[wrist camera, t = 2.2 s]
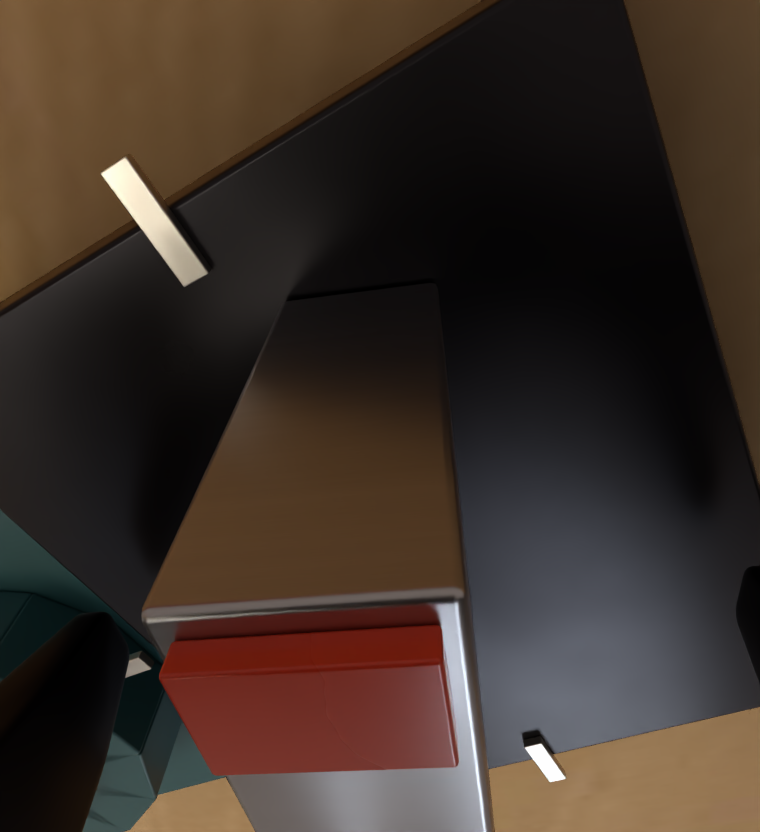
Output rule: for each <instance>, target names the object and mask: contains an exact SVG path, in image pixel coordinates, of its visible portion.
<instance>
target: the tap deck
mask: <svg viewBox="0 0 760 832" xmlns="http://www.w3.org/2000/svg"><path fill="white" fill-rule="evenodd" d="M100 174H101V176H102V177H103V178H104V180H105V181H106V182H107V184H108V185H109V186H110V188H111V189H112V190H113V192H114V193H115V194H116V196H117V197H118V199H119V200H120V201H121V203H122V204H123V205H124V207H125V208H126V209H127V211H128V212H129V213H130V215H131V216H132V217H133V220H132V221H130V222H128V223H127V224H125V225H124V226H122V227H120V228H119V229H117V230H116V231H114V232H112V233H111V234H109V235H108V236H106V237H104V238H103V239H101V240H100V241H98V242H96V243H95V244H93V245H92V246H90V247H88V248H87V249H85V250H84V251H82V252H80V253H79V254H77V255H76V256H74V257H73V258H71V259H69V260H68V261H66V262H65V263H63V264H61V265H60V266H58V267H57V268H55V269H53V270H52V271H50V272H49V273H47V274H45V275H44V276H42V277H41V278H39V279H37V280H36V281H34V282H33V283H31V284H29V285H28V286H26V287H25V288H23V289H21V290H20V291H18V292H17V293H15V294H14V295H12V296H10V297H9V298H7V299H6V300H4V301H2V302H1V303H0V510H1V511H2V512H3V513H4V514H5V515H7V516H8V517H9V518H10V519H11V520H12V521H13V522H14V523H16V524H17V525H18V526H19V527H20V528H21V529H22V530H23V531H25V532H26V533H27V534H28V535H29V536H30V537H31V538H32V539H34V540H35V541H36V542H37V543H38V544H39V545H40V546H41V547H43V548H44V549H45V550H46V551H47V552H48V553H49V554H50V555H51V556H53V557H54V558H55V559H56V560H57V561H58V562H59V563H60V564H62V565H63V566H64V567H65V568H66V569H67V570H68V571H69V572H71V573H72V574H73V575H74V576H75V577H76V578H77V579H78V580H80V581H81V582H82V583H83V584H84V585H85V586H86V587H87V588H88V589H90V590H91V591H92V592H93V593H94V594H95V595H96V596H97V597H99V598H100V599H101V600H102V601H103V602H104V603H105V604H106V605H108V606H109V607H110V608H111V609H112V610H113V611H114V612H115V613H117V614H118V615H119V616H120V617H121V618H122V619H123V620H124V621H126V622H127V623H128V624H129V625H130V626H131V627H132V628H133V629H134V630H136V631H137V632H138V633H139V634H140V635H141V636H142V637H143V638H145V639H146V640H147V641H148V642H149V643H150V644H151V645H152V646H154V647H155V645H154V643H153V642H152V640H151V638H150V636H149V634H148V632H147V630H146V629H145V627H144V625H143V623H142V607H143V605H144V603H145V601H146V599H147V596H148V594H149V592H150V590H151V588H152V586H153V583H154V581H155V579H156V577H157V575H158V573H159V570H160V568H161V566H162V564H163V562H164V560H165V557H166V555H167V553H168V551H169V549H170V547H171V545H172V542H173V540H174V538H175V536H176V534H177V532H178V529H179V527H180V525H181V523H182V521H183V519H184V516H185V514H186V512H187V510H188V508H189V506H190V503H191V501H192V499H193V497H194V495H195V493H196V490H197V488H198V486H199V484H200V482H201V480H202V477H203V475H204V473H205V471H206V469H207V467H208V464H209V462H210V460H211V458H212V456H213V454H214V451H215V449H216V447H217V445H218V443H219V441H220V438H221V436H222V434H223V432H224V430H225V428H226V425H227V423H228V421H229V419H230V417H231V415H232V412H233V410H234V408H235V406H236V404H237V402H238V399H239V397H240V395H241V393H242V391H243V389H244V386H245V384H246V382H247V380H248V378H249V376H250V373H251V371H252V369H253V367H254V365H255V363H256V360H257V358H258V356H259V354H260V352H261V350H262V347H263V345H264V343H265V341H266V339H267V337H268V334H269V332H270V330H271V328H272V326H273V324H274V321H275V319H276V317H277V315H278V313H279V311H280V308H281V306H282V304H283V303H285V302H286V301H293V300H300V299H308V298H316V297H324V296H331V295H339V294H347V293H355V292H363V291H370V290H378V289H386V288H394V287H401V286H409V285H417V284H425V283H434V284H436V286H437V288H438V295H439V305H440V314H441V324H442V333H443V343H444V352H445V362H446V371H447V381H448V390H449V400H450V409H451V418H452V428H453V437H454V447H455V456H456V466H457V475H458V485H459V494H460V504H461V513H462V523H463V532H464V542H465V551H466V560H467V570H468V579H469V589H470V598H471V608H472V617H473V627H474V636H475V646H476V655H477V665H478V674H479V684H480V693H481V702H482V712H483V721H484V731H485V741H486V750H487V760H488V769H492V768H496V767H500V766H505V765H509V764H513V763H518V762H522V761H526V760H531V759H533V760H534V762H535V763H536V764H537V766H538V767H539V768H540V770H541V771H542V772H543V774H544V775H545V776H546V778H547V779H548V781H549V782H553V781H557V780H562V779H566V774H565V770H564V769H563V768H562V766H561V765H560V763H559V762H558V761H557V759H556V758H555V756H554V755H553V754H557V753H561V752H566V751H570V750H574V749H579V748H583V747H587V746H592V745H596V744H600V743H605V742H609V741H613V740H618V739H622V738H626V737H631V736H635V735H639V734H644V733H648V732H652V731H657V730H661V729H666V728H670V727H674V726H679V725H683V724H687V723H692V722H696V721H700V720H705V719H709V718H713V717H718V716H722V715H726V714H731V713H735V712H739V711H744V710H748V709H752V708H757V707H760V684H759V681H758V679H757V676H756V673H755V670H754V668H753V665H752V662H751V660H750V657H749V654H748V651H747V649H746V646H745V643H744V641H743V638H742V635H741V632H740V630H739V627H738V624H737V620H736V603H737V599H738V595H739V591H740V586H741V582H742V578H743V574H744V572H745V570H746V569H747V568H748V567H751V566H760V485H759V481H758V478H757V474H756V470H755V467H754V463H753V460H752V456H751V453H750V449H749V445H748V442H747V438H746V435H745V431H744V427H743V424H742V420H741V417H740V413H739V410H738V406H737V402H736V399H735V395H734V392H733V388H732V384H731V381H730V377H729V374H728V370H727V367H726V363H725V359H724V356H723V352H722V349H721V345H720V341H719V338H718V334H717V331H716V327H715V324H714V320H713V316H712V313H711V309H710V306H709V302H708V298H707V295H706V291H705V288H704V284H703V281H702V277H701V273H700V270H699V266H698V263H697V259H696V256H695V252H694V248H693V245H692V241H691V238H690V234H689V230H688V227H687V223H686V220H685V216H684V213H683V209H682V205H681V202H680V198H679V195H678V191H677V187H676V184H675V180H674V177H673V173H672V170H671V166H670V162H669V159H668V155H667V152H666V148H665V144H664V141H663V137H662V134H661V130H660V127H659V123H658V119H657V116H656V112H655V109H654V105H653V101H652V98H651V94H650V91H649V87H648V84H647V80H646V76H645V73H644V69H643V66H642V62H641V59H640V55H639V51H638V48H637V44H636V41H635V37H634V33H633V30H632V26H631V23H630V19H629V16H628V12H627V8H626V5H625V1H624V0H482V1H481V2H479V3H478V4H476V5H474V6H473V7H471V8H470V9H468V10H466V11H465V12H463V13H462V14H460V15H458V16H457V17H455V18H454V19H452V20H450V21H449V22H447V23H446V24H444V25H442V26H441V27H439V28H438V29H436V30H434V31H433V32H431V33H430V34H428V35H427V36H425V37H423V38H422V39H420V40H419V41H417V42H415V43H414V44H412V45H411V46H409V47H407V48H406V49H404V50H403V51H401V52H399V53H398V54H396V55H395V56H393V57H391V58H390V59H388V60H387V61H385V62H383V63H382V64H380V65H379V66H377V67H375V68H374V69H372V70H371V71H369V72H368V73H366V74H364V75H363V76H361V77H360V78H358V79H356V80H355V81H353V82H352V83H350V84H348V85H347V86H345V87H344V88H342V89H340V90H339V91H337V92H336V93H334V94H332V95H331V96H329V97H328V98H326V99H324V100H323V101H321V102H320V103H318V104H316V105H315V106H313V107H312V108H310V109H309V110H307V111H305V112H304V113H302V114H301V115H299V116H297V117H296V118H294V119H293V120H291V121H289V122H288V123H286V124H285V125H283V126H281V127H280V128H278V129H277V130H275V131H273V132H272V133H270V134H269V135H267V136H265V137H264V138H262V139H261V140H259V141H257V142H256V143H254V144H253V145H251V146H250V147H248V148H246V149H245V150H243V151H242V152H240V153H238V154H237V155H235V156H234V157H232V158H230V159H229V160H227V161H226V162H224V163H222V164H221V165H219V166H218V167H216V168H214V169H213V170H211V171H210V172H208V173H206V174H205V175H203V176H202V177H200V178H198V179H197V180H195V181H194V182H192V183H191V184H189V185H187V186H186V187H184V188H183V189H181V190H179V191H178V192H176V193H175V194H173V195H171V196H170V197H168V198H167V199H165V200H163V198H162V197H161V196H160V194H159V193H158V191H157V190H156V188H155V187H154V186H153V184H152V183H151V181H150V180H149V178H148V177H147V176H146V174H145V173H144V171H143V170H142V169H141V167H140V166H139V164H138V163H137V161H136V160H135V159H134V157H133V156H132V155H131V154H128V155H126V156H124V157H122V158H121V159H119V160H118V161H116V162H115V163H113V164H112V165H111V166H109V167H108V168H106V169H105V170H103V171H102V172H101V173H100ZM155 648H156V647H155ZM153 664H154V661H153V660H152V659H151V658H150V657H149V656H148V655H146V654H145V653H144V652H143V651H139V652H136V653H133V654H130V655H129V664H128V668H127V672H126V677H129V676H132V675H135V674H138V673H141V672H144V671H147V670H150V669H152V666H153ZM126 677H125V678H126Z"/></svg>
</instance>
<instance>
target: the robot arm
mask: <svg viewBox="0 0 760 832" xmlns="http://www.w3.org/2000/svg"><path fill="white" fill-rule="evenodd" d="M736 620H737V624H738V627H739V630H740V632H741V635H742V638H743V641H744V643H745V646H746V649H747V651H748V654H749V657H750V660H751V662H752V665H753V668H754V670H755V673H756V676H757V679H758V681H759V684H760V566H751V567H748V568H747V569H746V570H745V572H744V574H743V578H742V582H741V586H740V591H739V595H738V599H737V603H736ZM128 664H129V648H128V645H127V642H126V641H125V639H124V637H123V636H122V634H121V632H120V630H119V629H118V627H117V625H116V623H115V622H114V620H113V618H112V617H111V615H110V614H108V613H106V612H88V613H81V614H79V615H77V616H75V617H74V618H73V619H72V620H70V621H69V622H68V623H67V624H66V625H65V626H64V627H62V628H61V629H60V630H59V631H58V632H57V633H56V634H54V635H53V636H52V637H51V638H50V639H49V640H48V641H46V642H45V643H44V644H43V645H42V646H41V647H40V648H38V649H37V650H36V651H35V652H34V653H33V654H31V655H30V656H29V657H28V658H27V659H26V660H25V661H23V662H22V663H21V664H20V665H19V666H18V667H17V668H15V669H14V670H13V671H12V672H11V673H10V674H9V675H7V676H6V677H5V678H4V679H3V680H2V681H1V682H0V832H82V831H83V828H84V825H85V822H86V819H87V816H88V813H89V811H90V808H91V805H92V802H93V799H94V796H95V793H96V790H97V787H98V784H99V781H100V777H101V774H102V771H103V768H104V765H105V761H106V757H107V753H108V750H109V745H110V741H111V737H112V733H113V728H114V724H115V720H116V715H117V711H118V707H119V702H120V698H121V694H122V690H123V685H124V681H125V677H126V672H127V668H128Z"/></svg>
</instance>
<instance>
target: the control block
mask: <svg viewBox="0 0 760 832" xmlns="http://www.w3.org/2000/svg"><path fill="white" fill-rule="evenodd" d="M88 612H106V613H108V614H110V615H111V617H112V618H113V620H114V622H115V623H116V625H117V627H118V629H119V630H120V632H121V634H122V636H123V637H124V639H125V641H126V642H127V645H128V648H129V655H130V654H133V653H136V652H139V651H143V652H144V653H145V654H146V655H148V656H149V657H150V658H151V659H152V660H153V661H154V664H153V666H152V669H150V670H147V671H144V672H141V673H138V674H135V675H132V676H129V677H126V678H125V681H124V685H123V690H122V694H121V698H120V702H119V707H118V711H117V715H116V720H115V724H114V728H113V733H112V737H111V741H110V745H109V750H108V753H107V757H106V761H105V765H104V768H103V771H102V774H101V777H100V781H99V784H98V787H97V790H96V793H95V796H94V799H93V802H92V805H91V808H90V811H89V813H88V816H87V819H86V822H85V825H84V828H83V831H82V832H124V831H127V830H130V829H131V828H132V827H133V826H134V824H135V823H136V822H137V821H138V820H139V819H140V817H141V816H142V815H143V814H144V813H145V811H146V810H147V809H148V808H149V807H150V806H151V804H152V803H153V802H154V801H155V800H156V798H157V795H159V794H163V793H167V792H170V791H174V790H178V789H182V788H186V787H190V786H193V785H197V784H201V783H205V782H209V781H212V780H216V779H220V778H224V777H226V776H225V775H224V776H216V775H213V774H212V773H211V771H210V769H209V767H208V766H207V764H206V762H205V760H204V758H203V757H202V755H201V753H200V751H199V750H198V748H197V746H196V744H195V742H194V741H193V739H192V737H191V735H190V734H189V732H188V730H187V728H186V726H185V725H184V723H183V721H182V719H181V718H180V716H179V714H178V712H177V710H176V709H175V707H174V705H173V703H172V701H171V700H170V698H169V696H168V694H167V693H166V691H165V689H164V687H163V685H162V684H161V682H160V680H159V673H160V671H161V668H162V666H163V663H164V662H163V660H162V658H161V656H160V654H159V653H158V651H157V649H156V648H155V647H154V646H152V645H151V644H150V643H149V642H148V641H147V640H146V639H145V638H143V637H142V636H141V635H140V634H139V633H138V632H137V631H136V630H134V629H133V628H132V627H131V626H130V625H129V624H128V623H127V622H126V621H124V620H123V619H122V618H121V617H120V616H119V615H118V614H117V613H115V612H114V611H113V610H112V609H111V608H110V607H109V606H108V605H106V604H105V603H104V602H103V601H102V600H101V599H100V598H99V597H97V596H96V595H95V594H94V593H93V592H92V591H91V590H90V589H88V588H87V587H86V586H85V585H84V584H83V583H82V582H81V581H80V580H78V579H77V578H76V577H75V576H74V575H73V574H72V573H71V572H69V571H68V570H67V569H66V568H65V567H64V566H63V565H62V564H60V563H59V562H58V561H57V560H56V559H55V558H54V557H53V556H51V555H50V554H49V553H48V552H47V551H46V550H45V549H44V548H43V547H41V546H40V545H39V544H38V543H37V542H36V541H35V540H34V539H32V538H31V537H30V536H29V535H28V534H27V533H26V532H25V531H23V530H22V529H21V528H20V527H19V526H18V525H17V524H16V523H14V522H13V521H12V520H11V519H10V518H9V517H8V516H7V515H5V514H4V513H3V512H2V511H1V510H0V682H1V681H2V680H3V679H4V678H5V677H6V676H7V675H9V674H10V673H11V672H12V671H13V670H14V669H15V668H17V667H18V666H19V665H20V664H21V663H22V662H23V661H25V660H26V659H27V658H28V657H29V656H30V655H31V654H33V653H34V652H35V651H36V650H37V649H38V648H40V647H41V646H42V645H43V644H44V643H45V642H46V641H48V640H49V639H50V638H51V637H52V636H53V635H54V634H56V633H57V632H58V631H59V630H60V629H61V628H62V627H64V626H65V625H66V624H67V623H68V622H69V621H70V620H72V619H73V618H74V617H75V616H77V615H79V614H81V613H88Z"/></svg>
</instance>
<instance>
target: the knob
mask: <svg viewBox="0 0 760 832" xmlns="http://www.w3.org/2000/svg"><path fill="white" fill-rule="evenodd" d="M142 623H143V625H144V627H145V629H146V630H147V632H148V634H149V636H150V638H151V640H152V642H153V643H154V645H155V647H156V649H157V651H158V653H159V654H160V656H161V658H162V660H163V662H164V663H163V666H162V668H161V671H160V673H159V680H160V682H161V684H162V685H163V687H164V689H165V691H166V693H167V694H168V696H169V698H170V700H171V701H172V703H173V705H174V707H175V709H176V710H177V712H178V714H179V716H180V718H181V719H182V721H183V723H184V725H185V726H186V728H187V730H188V732H189V734H190V735H191V737H192V739H193V741H194V742H195V744H196V746H197V748H198V750H199V751H200V753H201V755H202V757H203V758H204V760H205V762H206V764H207V766H208V767H209V769H210V771H211V773H212V774H213V775H216V776H224V775H225V776H226V778H227V780H228V782H229V784H230V785H231V787H232V789H233V791H234V793H235V795H236V797H237V798H238V800H239V802H240V804H241V806H242V808H243V809H244V811H245V813H246V815H247V817H248V819H249V821H250V822H251V824H252V826H253V828H254V830H255V832H495V828H494V819H493V809H492V799H491V789H490V780H489V770H488V760H487V750H486V741H485V731H484V721H483V712H482V702H481V693H480V684H479V674H478V665H477V655H476V646H475V636H474V627H473V617H472V608H471V598H470V589H469V579H468V570H467V560H466V551H465V542H464V532H463V523H462V513H461V504H460V494H459V485H458V475H457V466H456V456H455V447H454V437H453V428H452V418H451V409H450V400H449V390H448V381H447V371H446V362H445V352H444V343H443V333H442V324H441V314H440V305H439V295H438V288H437V286H436V284H434V283H425V284H417V285H409V286H401V287H394V288H386V289H378V290H370V291H363V292H355V293H347V294H339V295H331V296H324V297H316V298H308V299H300V300H293V301H286V302H285V303H283V304H282V306H281V308H280V311H279V313H278V315H277V317H276V319H275V321H274V324H273V326H272V328H271V330H270V332H269V334H268V337H267V339H266V341H265V343H264V345H263V347H262V350H261V352H260V354H259V356H258V358H257V360H256V363H255V365H254V367H253V369H252V371H251V373H250V376H249V378H248V380H247V382H246V384H245V386H244V389H243V391H242V393H241V395H240V397H239V399H238V402H237V404H236V406H235V408H234V410H233V412H232V415H231V417H230V419H229V421H228V423H227V425H226V428H225V430H224V432H223V434H222V436H221V438H220V441H219V443H218V445H217V447H216V449H215V451H214V454H213V456H212V458H211V460H210V462H209V464H208V467H207V469H206V471H205V473H204V475H203V477H202V480H201V482H200V484H199V486H198V488H197V490H196V493H195V495H194V497H193V499H192V501H191V503H190V506H189V508H188V510H187V512H186V514H185V516H184V519H183V521H182V523H181V525H180V527H179V529H178V532H177V534H176V536H175V538H174V540H173V542H172V545H171V547H170V549H169V551H168V553H167V555H166V557H165V560H164V562H163V564H162V566H161V568H160V570H159V573H158V575H157V577H156V579H155V581H154V583H153V586H152V588H151V590H150V592H149V594H148V596H147V599H146V601H145V603H144V605H143V607H142Z"/></svg>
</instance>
